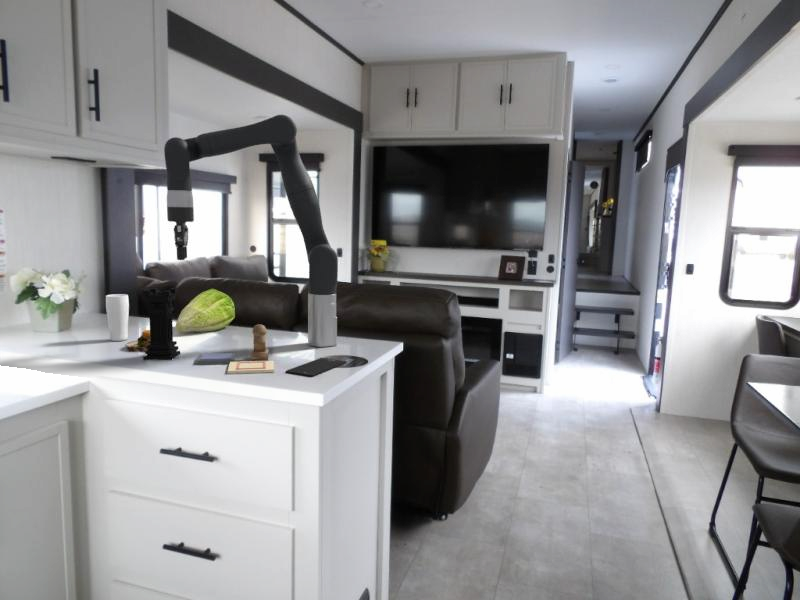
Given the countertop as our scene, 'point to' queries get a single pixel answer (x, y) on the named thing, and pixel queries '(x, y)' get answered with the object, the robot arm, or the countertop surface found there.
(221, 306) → the lettuce
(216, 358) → the ink pad
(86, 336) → the countertop surface
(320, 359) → the cell phone
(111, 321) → the drinking glass
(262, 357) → the stamp
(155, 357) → the chess piece
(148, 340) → the burger
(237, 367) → the board
